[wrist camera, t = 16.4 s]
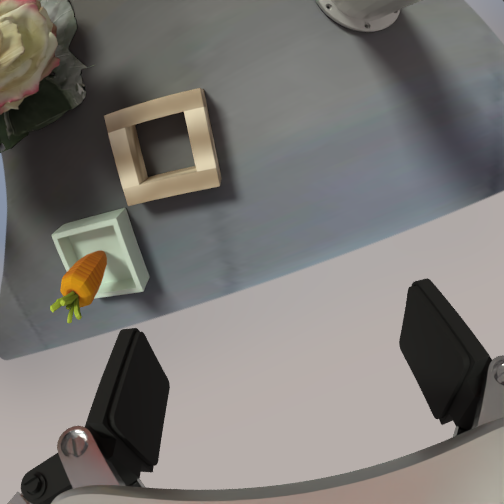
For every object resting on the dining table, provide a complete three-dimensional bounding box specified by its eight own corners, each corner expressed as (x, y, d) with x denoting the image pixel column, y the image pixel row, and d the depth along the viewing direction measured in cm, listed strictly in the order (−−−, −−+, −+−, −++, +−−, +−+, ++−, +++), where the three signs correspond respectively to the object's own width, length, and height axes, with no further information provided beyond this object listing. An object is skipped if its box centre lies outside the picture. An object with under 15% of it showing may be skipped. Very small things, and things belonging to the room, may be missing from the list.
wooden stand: (115, 113, 35) (103, 115, 31) (203, 89, 34) (199, 88, 31) (137, 196, 40) (127, 206, 37) (221, 178, 40) (219, 186, 36)
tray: (63, 224, 41) (51, 234, 38) (125, 207, 41) (116, 218, 37) (89, 286, 47) (80, 300, 43) (149, 276, 46) (143, 291, 43)
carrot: (124, 254, 43) (87, 318, 30) (106, 272, 45) (68, 336, 31) (100, 231, 41) (54, 288, 28) (83, 251, 43) (38, 310, 29)
